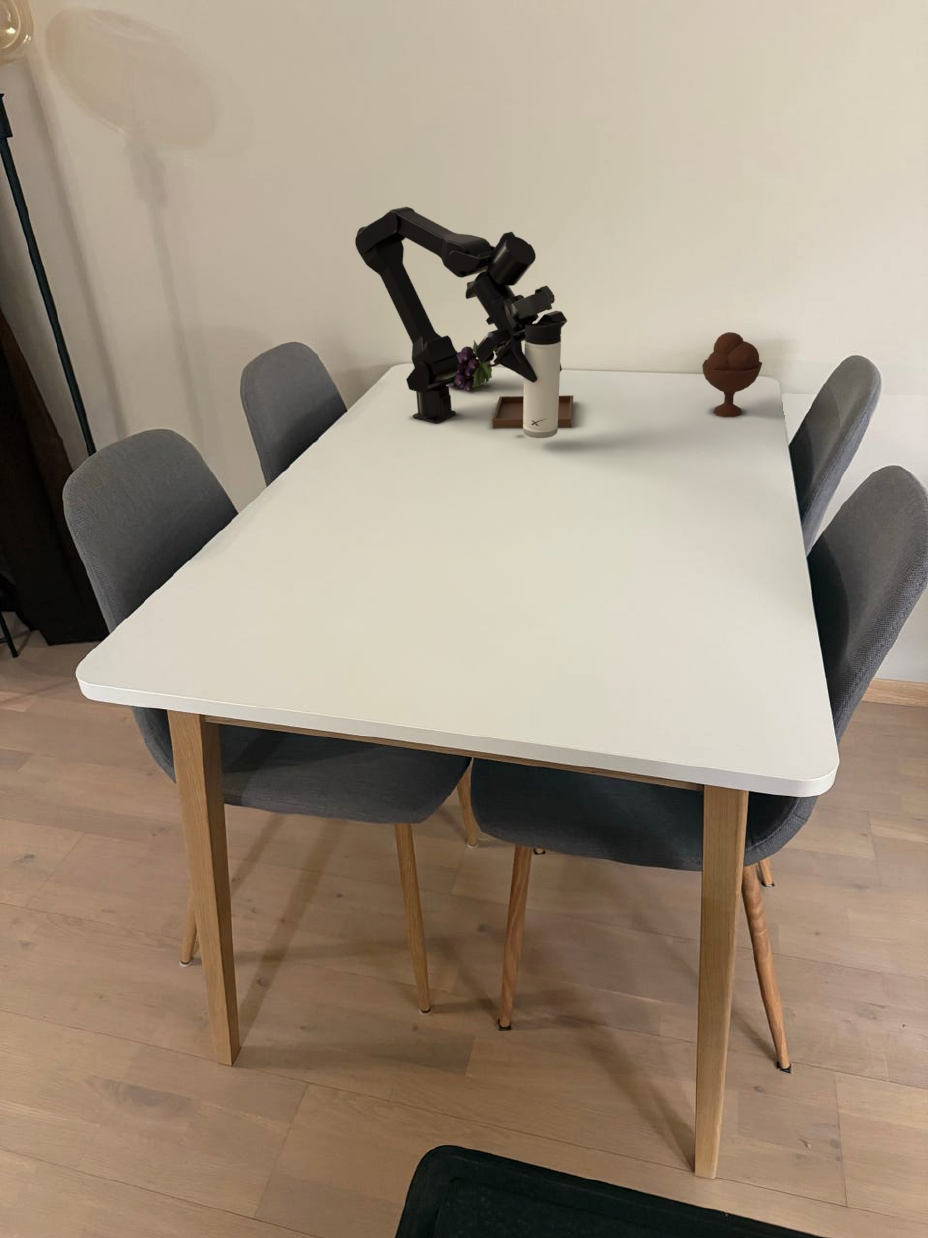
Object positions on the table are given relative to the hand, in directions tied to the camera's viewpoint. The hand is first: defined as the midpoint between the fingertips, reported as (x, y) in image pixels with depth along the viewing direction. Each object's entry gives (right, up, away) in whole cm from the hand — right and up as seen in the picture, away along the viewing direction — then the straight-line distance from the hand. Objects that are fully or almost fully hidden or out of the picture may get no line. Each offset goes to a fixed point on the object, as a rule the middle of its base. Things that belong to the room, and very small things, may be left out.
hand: (547, 376), depth 158 cm
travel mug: (-1, -9, +7) cm, 11 cm away
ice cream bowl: (+37, -2, +18) cm, 41 cm away
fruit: (-13, +8, +41) cm, 44 cm away
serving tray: (-1, -2, +23) cm, 23 cm away
